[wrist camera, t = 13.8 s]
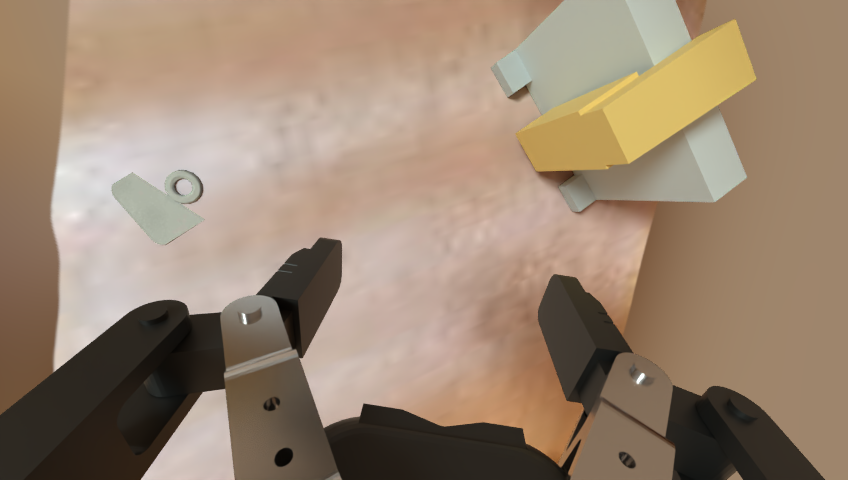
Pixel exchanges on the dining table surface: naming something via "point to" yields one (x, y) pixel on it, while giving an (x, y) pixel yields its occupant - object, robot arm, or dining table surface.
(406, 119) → the dining table surface
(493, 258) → the dining table surface
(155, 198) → the mounting bracket
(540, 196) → the dining table surface
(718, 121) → the wall board
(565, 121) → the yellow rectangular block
